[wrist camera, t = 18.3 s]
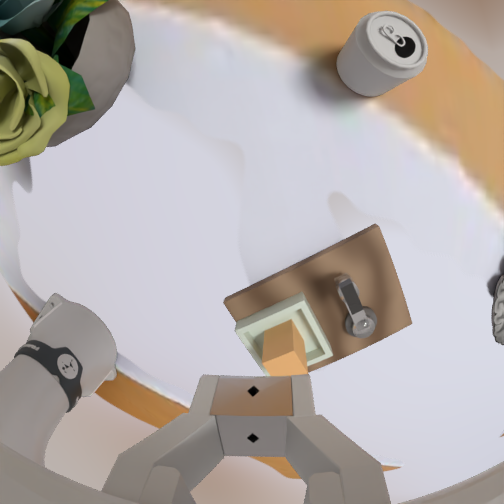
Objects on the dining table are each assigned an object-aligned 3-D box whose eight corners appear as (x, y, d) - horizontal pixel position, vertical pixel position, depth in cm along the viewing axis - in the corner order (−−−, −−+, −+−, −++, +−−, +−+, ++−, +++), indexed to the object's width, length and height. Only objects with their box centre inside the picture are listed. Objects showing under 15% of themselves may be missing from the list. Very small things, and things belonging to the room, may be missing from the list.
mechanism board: (278, 377, 43) (278, 388, 41) (225, 297, 40) (222, 306, 37) (408, 318, 39) (414, 327, 36) (375, 223, 35) (381, 228, 33)
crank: (375, 327, 37) (387, 351, 31) (355, 336, 37) (365, 361, 32) (347, 261, 34) (359, 279, 29) (325, 272, 35) (333, 292, 29)
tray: (270, 369, 41) (269, 380, 39) (237, 321, 39) (234, 331, 37) (330, 345, 39) (333, 355, 37) (302, 291, 37) (304, 300, 35)
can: (370, 109, 31) (411, 90, 19) (323, 70, 30) (343, 32, 18) (401, 73, 29) (446, 45, 17) (356, 35, 28) (385, -8, 16)
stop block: (304, 340, 39) (308, 373, 32) (278, 351, 39) (277, 385, 33) (291, 318, 38) (293, 350, 31) (264, 330, 38) (261, 363, 32)
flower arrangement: (25, 71, 31) (-83, 58, 8) (142, -21, 26) (56, -104, 3) (61, 191, 37) (-72, 233, 14) (202, 100, 32) (86, 22, 9)
